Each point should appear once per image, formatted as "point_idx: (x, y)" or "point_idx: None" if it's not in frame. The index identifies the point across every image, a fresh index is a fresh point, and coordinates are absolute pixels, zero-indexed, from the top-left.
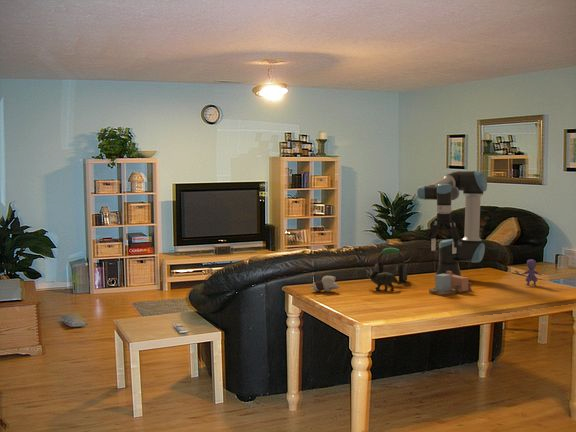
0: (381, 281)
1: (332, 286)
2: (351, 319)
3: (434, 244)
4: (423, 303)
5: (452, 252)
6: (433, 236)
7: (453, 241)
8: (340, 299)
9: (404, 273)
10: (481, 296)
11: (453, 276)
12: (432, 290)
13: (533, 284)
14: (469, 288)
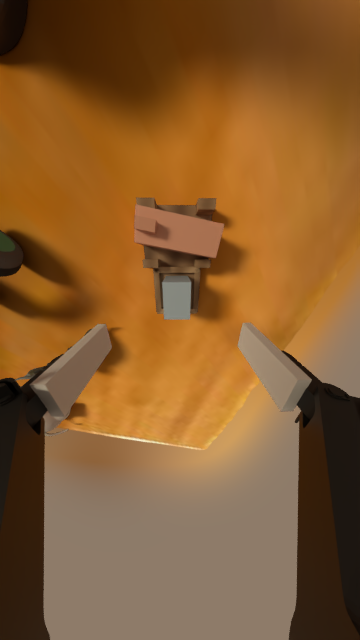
0: None
1: (66, 417)
2: (191, 448)
3: (88, 357)
4: (202, 371)
5: (241, 349)
6: (39, 439)
7: (298, 420)
8: (113, 417)
9: (9, 265)
10: (259, 253)
11: (177, 245)
12: None
13: None
14: (210, 214)
